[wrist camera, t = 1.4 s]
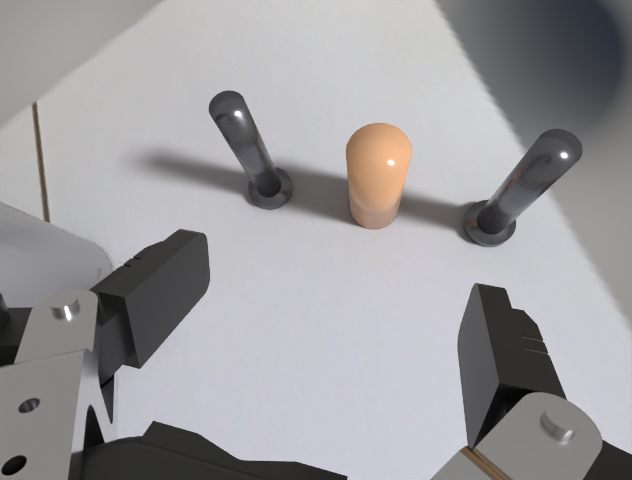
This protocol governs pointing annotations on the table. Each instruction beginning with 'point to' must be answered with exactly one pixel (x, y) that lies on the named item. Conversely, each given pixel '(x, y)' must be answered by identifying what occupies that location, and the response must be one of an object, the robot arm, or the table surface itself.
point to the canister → (377, 173)
